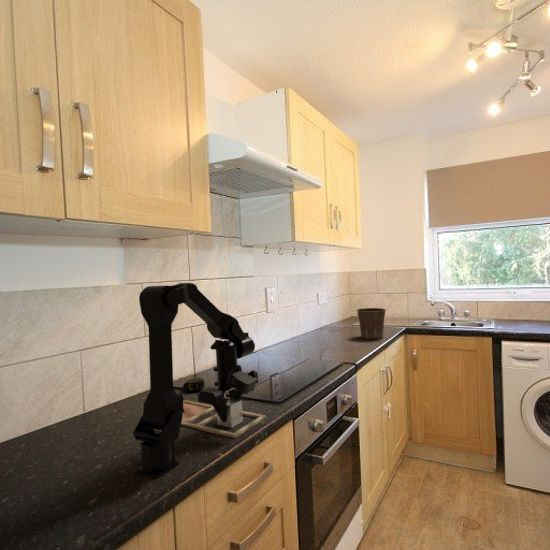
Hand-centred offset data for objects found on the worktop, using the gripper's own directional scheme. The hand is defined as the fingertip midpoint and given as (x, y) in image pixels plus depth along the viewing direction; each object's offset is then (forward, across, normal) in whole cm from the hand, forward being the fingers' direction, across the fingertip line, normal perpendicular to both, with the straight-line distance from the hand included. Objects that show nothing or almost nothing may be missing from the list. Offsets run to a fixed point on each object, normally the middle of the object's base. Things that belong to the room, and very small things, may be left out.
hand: (230, 418), depth 106 cm
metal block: (+1, 0, 0) cm, 1 cm away
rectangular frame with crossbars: (+1, 0, +9) cm, 9 cm away
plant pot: (+1, +130, +2) cm, 130 cm away
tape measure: (+2, +18, +32) cm, 36 cm away
